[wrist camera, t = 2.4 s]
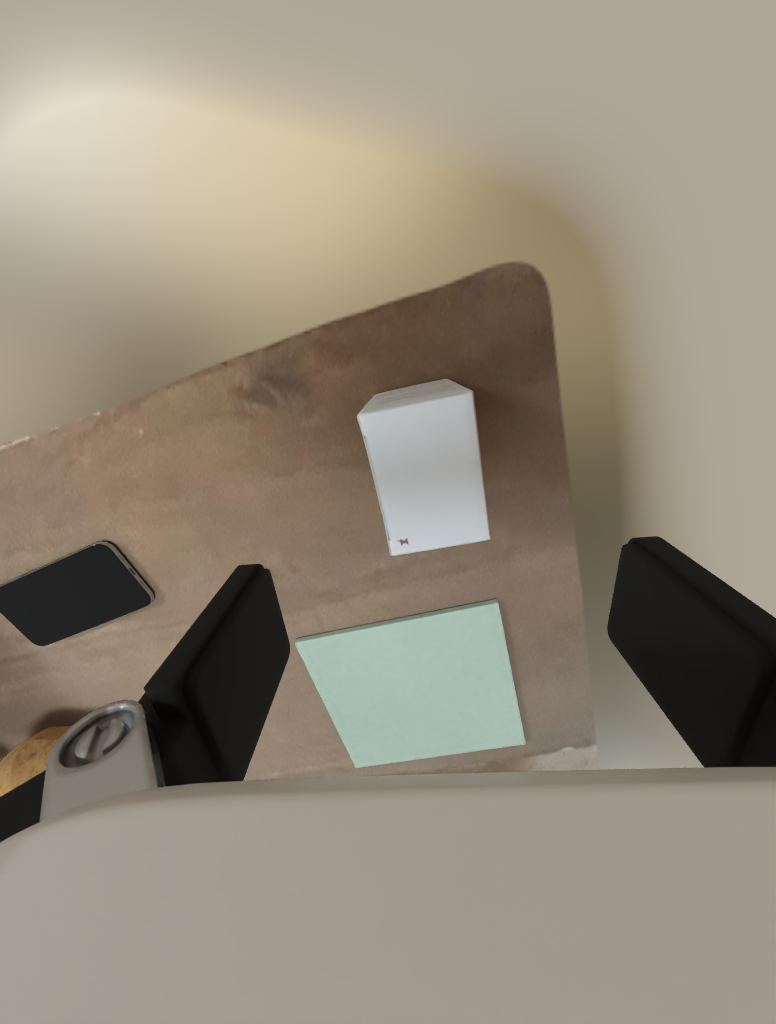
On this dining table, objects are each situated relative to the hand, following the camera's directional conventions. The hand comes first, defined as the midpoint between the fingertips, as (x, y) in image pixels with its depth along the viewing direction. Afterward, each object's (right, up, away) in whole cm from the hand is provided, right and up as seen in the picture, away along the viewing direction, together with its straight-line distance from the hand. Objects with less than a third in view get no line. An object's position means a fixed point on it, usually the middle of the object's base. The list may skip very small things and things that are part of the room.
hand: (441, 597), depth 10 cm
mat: (+2, -17, +29) cm, 33 cm away
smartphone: (-32, -6, +25) cm, 41 cm away
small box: (+1, +8, +18) cm, 20 cm away
